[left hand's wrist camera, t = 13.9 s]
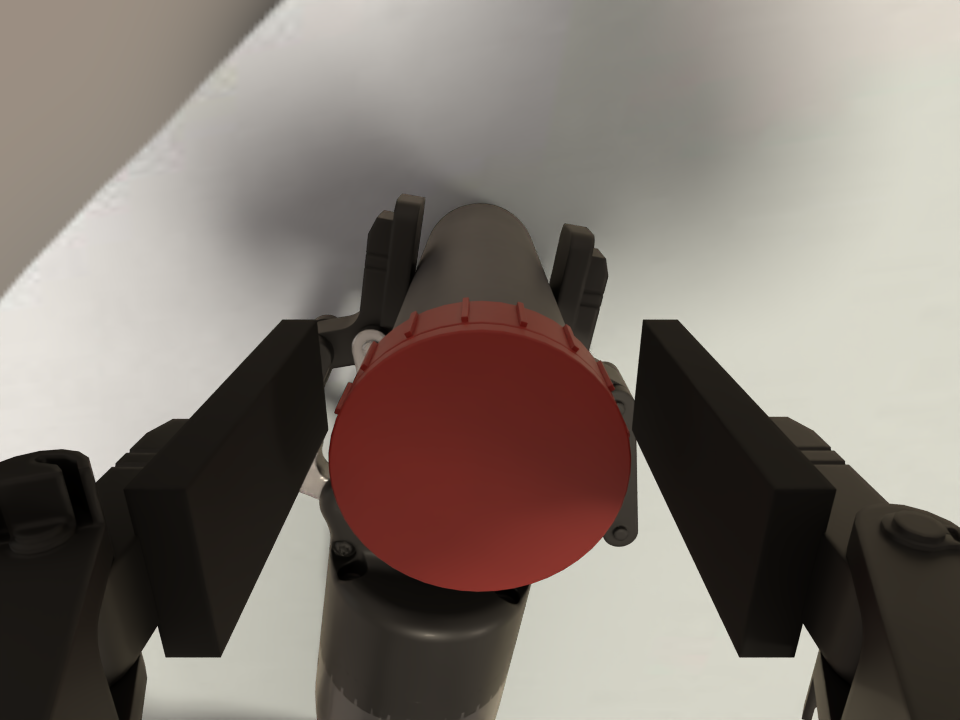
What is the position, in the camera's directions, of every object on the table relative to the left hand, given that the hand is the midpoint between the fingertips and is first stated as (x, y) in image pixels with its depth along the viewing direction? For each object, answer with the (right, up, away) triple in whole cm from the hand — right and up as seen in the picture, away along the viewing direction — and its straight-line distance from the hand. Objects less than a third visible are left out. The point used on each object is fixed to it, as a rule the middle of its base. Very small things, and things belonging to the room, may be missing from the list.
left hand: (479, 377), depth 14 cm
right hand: (0, +5, +4) cm, 6 cm away
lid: (0, -1, -3) cm, 4 cm away
